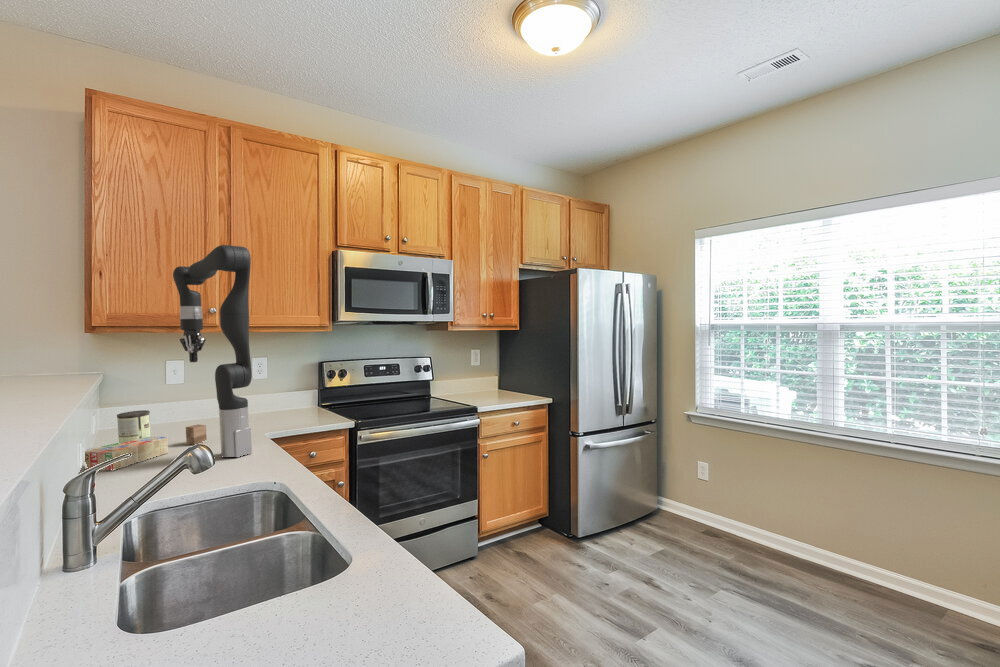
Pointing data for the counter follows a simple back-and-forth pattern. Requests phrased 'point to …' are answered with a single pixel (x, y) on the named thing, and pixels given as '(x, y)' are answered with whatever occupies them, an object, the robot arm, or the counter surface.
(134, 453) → the stack of blocks
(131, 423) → the coffee can
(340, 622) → the counter surface
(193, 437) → the walnut block
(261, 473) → the counter surface
